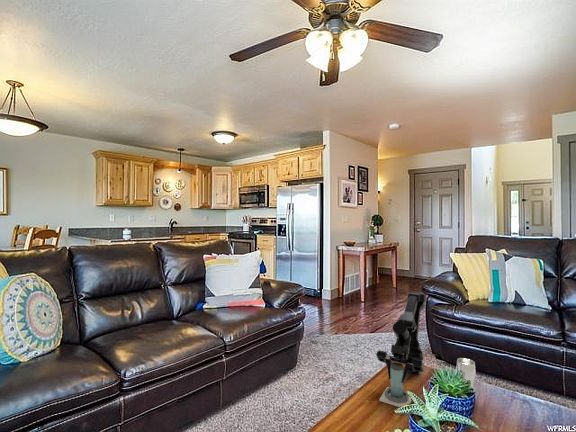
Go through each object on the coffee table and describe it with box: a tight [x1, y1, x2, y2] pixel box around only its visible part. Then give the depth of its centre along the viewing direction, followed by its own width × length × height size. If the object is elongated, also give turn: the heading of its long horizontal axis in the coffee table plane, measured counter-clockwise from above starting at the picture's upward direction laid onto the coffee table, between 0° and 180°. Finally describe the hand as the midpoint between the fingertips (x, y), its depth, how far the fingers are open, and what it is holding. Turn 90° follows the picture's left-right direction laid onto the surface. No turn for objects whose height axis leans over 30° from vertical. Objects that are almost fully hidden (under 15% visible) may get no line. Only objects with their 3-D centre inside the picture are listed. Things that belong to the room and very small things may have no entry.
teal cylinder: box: [390, 362, 404, 398], centre depth 135 cm, size 5×5×12 cm
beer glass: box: [456, 357, 477, 389], centre depth 136 cm, size 7×7×15 cm
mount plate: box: [379, 386, 413, 408], centre depth 135 cm, size 11×11×2 cm
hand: (395, 380), depth 134 cm, fingers closed on teal cylinder, 5 cm apart
